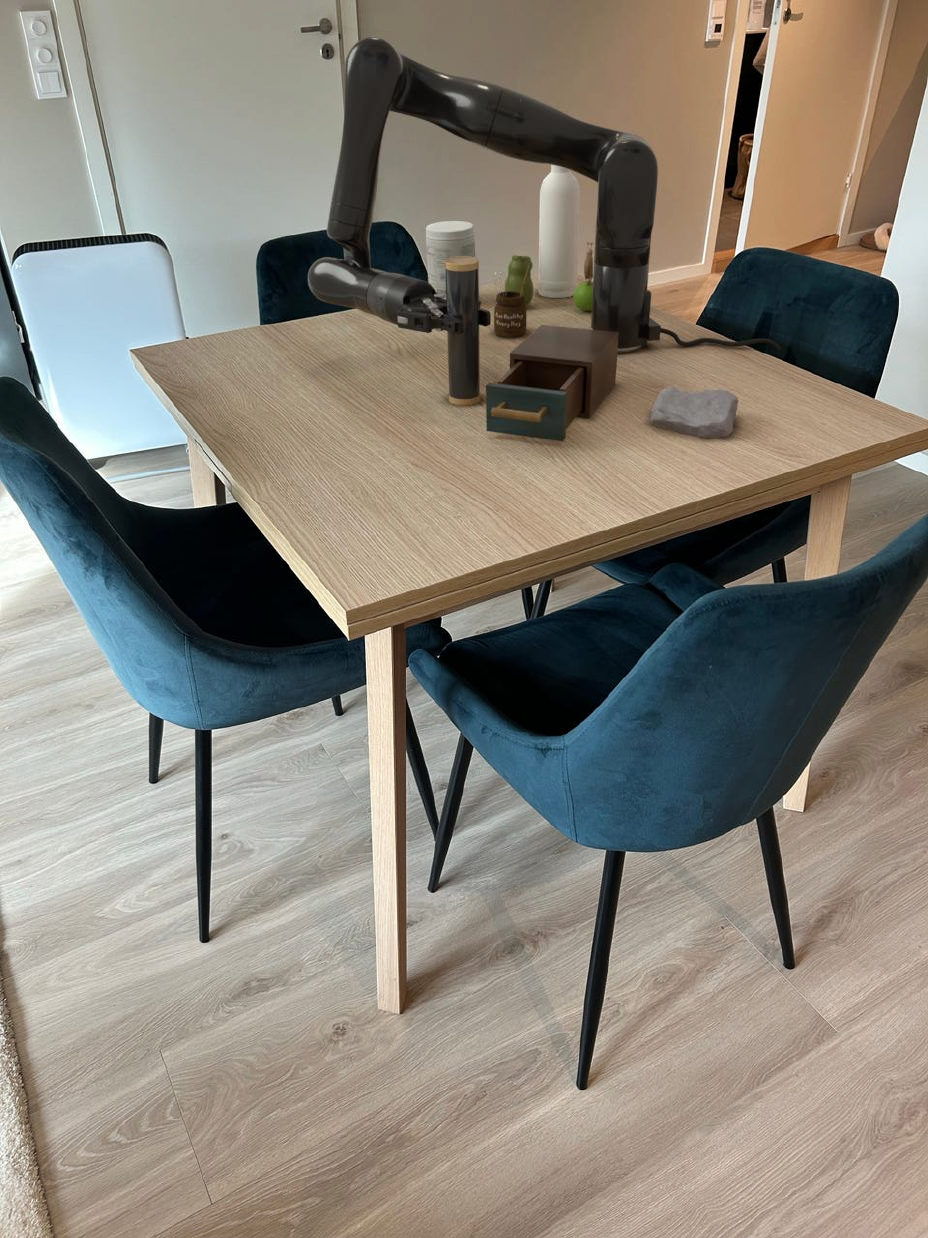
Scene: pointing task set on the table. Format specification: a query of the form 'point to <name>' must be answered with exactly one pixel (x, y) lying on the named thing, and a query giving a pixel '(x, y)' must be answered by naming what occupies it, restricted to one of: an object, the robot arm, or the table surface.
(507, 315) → the utensil holder
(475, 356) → the black cylinder
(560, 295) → the bottle
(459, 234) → the supplement tub
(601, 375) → the cabinet
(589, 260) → the snail figurine
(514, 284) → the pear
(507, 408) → the drawer
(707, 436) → the stone block
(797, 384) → the table surface
